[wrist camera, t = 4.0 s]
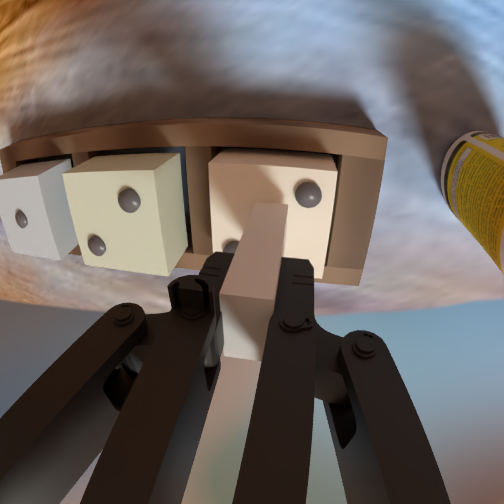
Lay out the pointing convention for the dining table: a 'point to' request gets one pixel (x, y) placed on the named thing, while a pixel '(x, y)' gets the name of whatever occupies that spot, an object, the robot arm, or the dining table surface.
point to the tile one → (37, 210)
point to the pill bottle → (477, 188)
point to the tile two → (129, 211)
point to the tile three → (274, 198)
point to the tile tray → (242, 135)
